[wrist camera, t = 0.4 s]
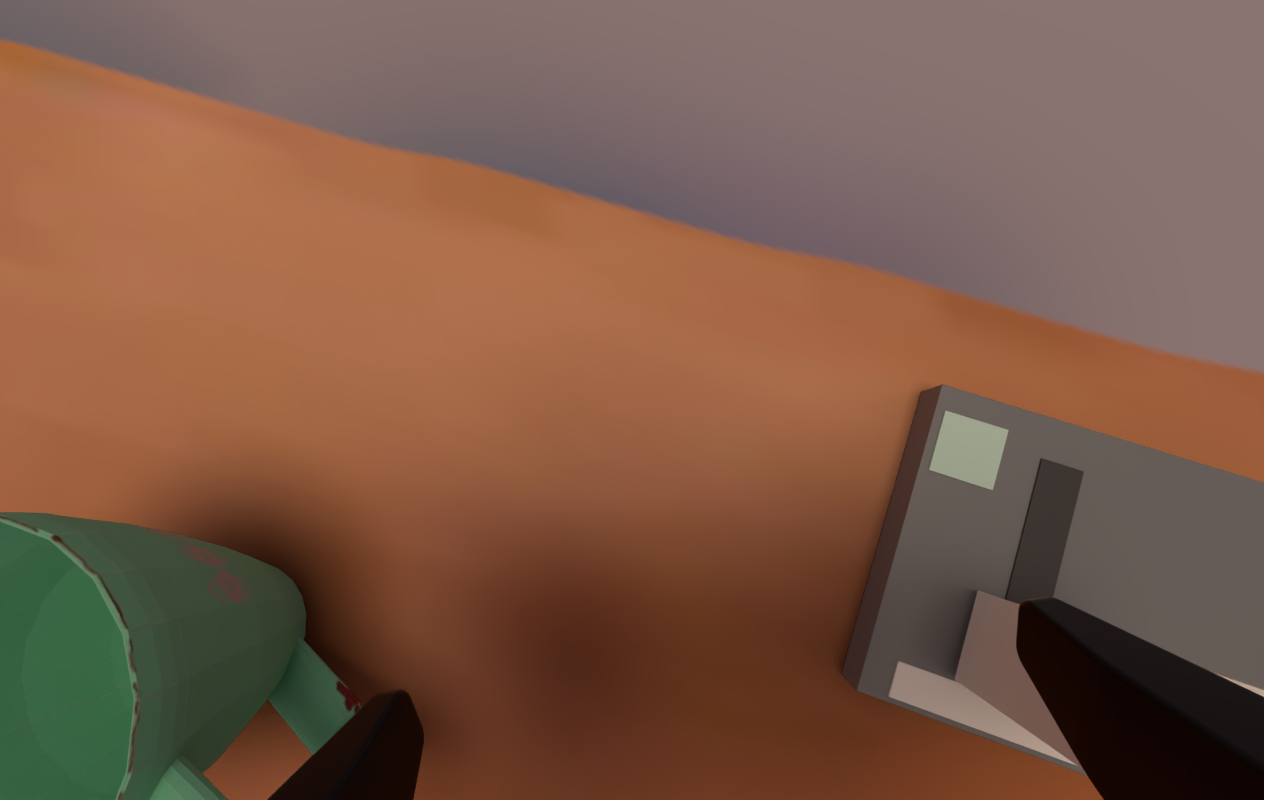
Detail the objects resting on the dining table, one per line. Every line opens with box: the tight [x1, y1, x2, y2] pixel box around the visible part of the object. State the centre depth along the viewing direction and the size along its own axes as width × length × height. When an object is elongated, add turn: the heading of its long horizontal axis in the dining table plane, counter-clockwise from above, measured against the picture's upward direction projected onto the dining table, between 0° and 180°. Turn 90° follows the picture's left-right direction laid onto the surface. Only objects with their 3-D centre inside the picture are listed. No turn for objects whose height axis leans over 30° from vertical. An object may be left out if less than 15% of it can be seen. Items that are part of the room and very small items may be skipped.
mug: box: [0, 512, 363, 800], centre depth 18 cm, size 15×10×10 cm
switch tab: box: [954, 590, 1264, 769], centre depth 16 cm, size 3×4×7 cm
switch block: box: [841, 384, 1264, 775], centre depth 20 cm, size 11×21×2 cm, turn 71°
